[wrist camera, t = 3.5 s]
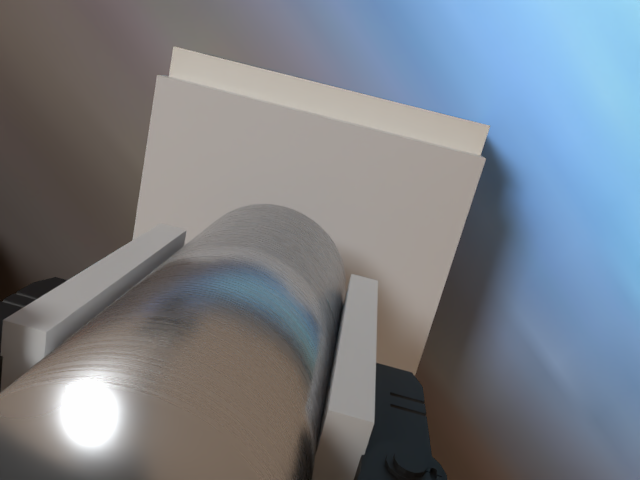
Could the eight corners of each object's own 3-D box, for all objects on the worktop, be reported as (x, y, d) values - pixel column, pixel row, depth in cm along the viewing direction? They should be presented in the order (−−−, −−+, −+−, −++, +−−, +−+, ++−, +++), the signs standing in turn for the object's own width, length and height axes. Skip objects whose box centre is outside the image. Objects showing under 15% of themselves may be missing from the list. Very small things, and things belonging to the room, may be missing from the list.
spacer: (205, 186, 16) (-68, 337, 6) (364, 227, 16) (334, 450, 6) (179, 329, 17) (-75, 634, 8) (325, 369, 17) (251, 733, 7)
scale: (197, 52, 21) (161, 43, 17) (477, 122, 20) (496, 127, 17) (138, 405, 25) (100, 452, 22) (367, 469, 25) (364, 528, 21)
